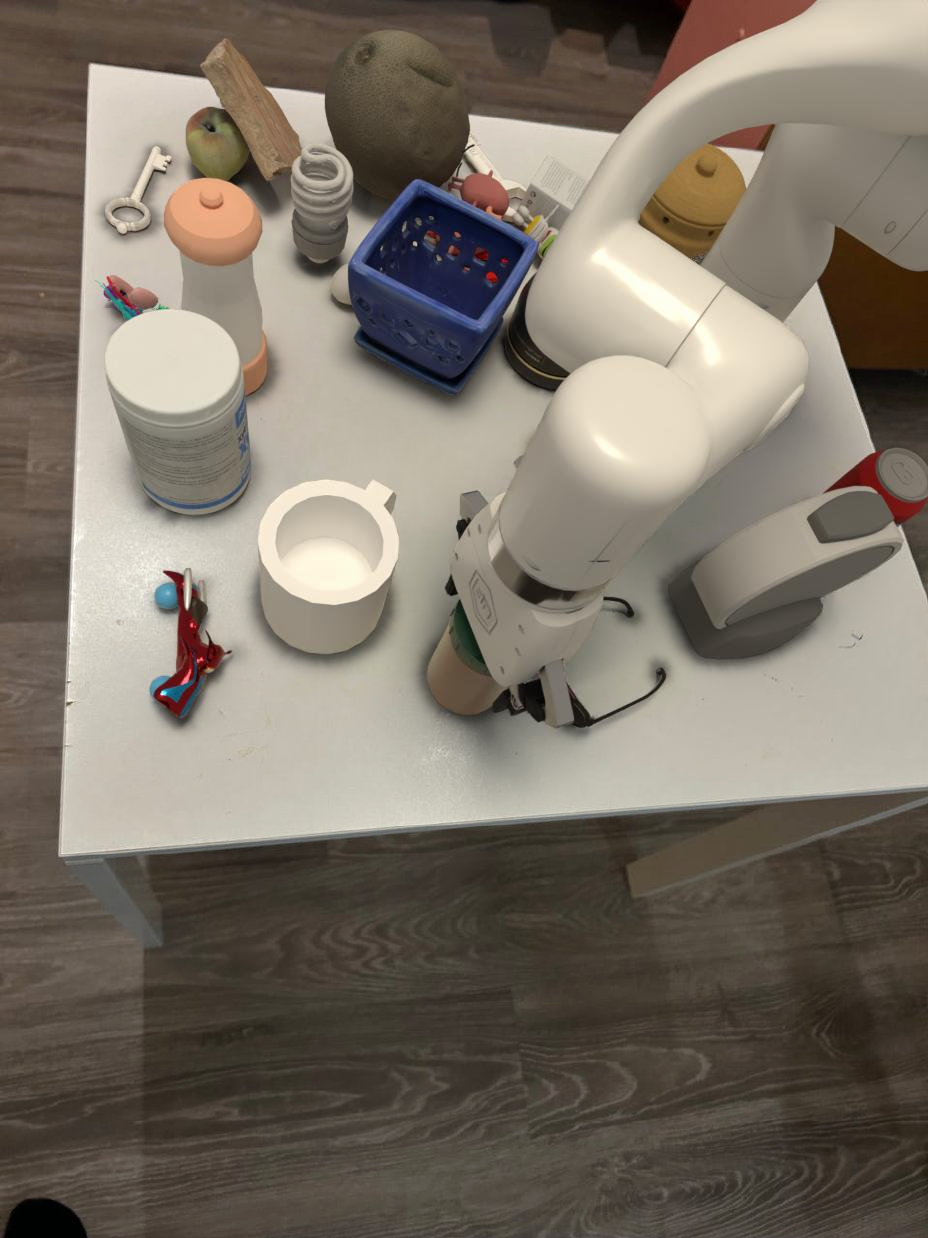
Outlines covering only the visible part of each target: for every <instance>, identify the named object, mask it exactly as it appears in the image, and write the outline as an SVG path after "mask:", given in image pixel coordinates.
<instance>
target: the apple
mask: <svg viewBox="0 0 928 1238" xmlns="http://www.w3.org/2000/svg"><path fill="white" fill-rule="evenodd" d="M185 144H186V150H187V152H188V154H189V156H190V159H191V161H192V163H193V165H194V167H195V168H196V169H197V170H198V171H199V172H201V174H203V175H204V176H205V178H215V179H220V180H224V181H227V182H229V181H230V179H231V178H233V177H234V176H236V174H237V173H239V172H240V171H241V170H242V168H243V167H244V166H245V164H246V162H247V160H248V158H249V155H250V149H249V146H248V144H247V142H246V140H245V139H244V136H243V135H242V133H241V131H240V129H239V127H238V126H237V124H236V123H235V121H234V120H233V118H232V117H231V115H230V114H229V113H228V112H227V111H226V110H225V109H224V108H220V107H219V108H218V107H215V106H205V107H203V108H200V109H199V110H197V111H196V112H195V113H194V114H192V115H191V116H190V117H189V119H188V121H187V122H186V126H185Z"/></svg>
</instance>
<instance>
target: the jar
mask: <svg viewBox="0 0 928 1238" xmlns="http://www.w3.org/2000/svg"><path fill="white" fill-rule="evenodd" d="M536 273H537V271H536V272H535V273H534V274H533V275H532V276H530V278H529V279H528V281H527V282H526V283H525V284H524V286H523V287H522V289H521V291H520V293H519V296H518V299H517V301H516V304H515V307H514V310H513V311H512V313H511V314H510V316H509V319H508V322H507V327H506V331H505V335H504V349H505V353H506V356H507V358H508V360H509V363H510V364H511V365H512V367H513V368H514V370H515V371H516V372H517V373H518V374H519V375H520V376H521V377H522V378H524V379H526V381H529V382H531V383H532V384H534V385H537V386H539V387H542V388H545V389H550V390H557V389H558V387H559V386H560V384H561V383H562V382H563V381H564V380H565V379H566V378H567V377H568V376H569V375H570V374H571V373H569V372H568V371H566V370H565V369H564V368H562V367H561V366H559V365H558V364H557V363H555V362H554V361H553V360H551V359H550V358H549V357H547V356H546V355H545V354H544V353H543V352H542V351H541V350H540V349H539V348H538V347H537V346H536V344H535V343H534V342H533V340H532V339H531V337H530V335H529V333H528V330H527V326H526V320H525V311H526V301H527V297H528V293H529V290H530V287H531V284H532V282H533V279H534V277H535V275H536Z"/></svg>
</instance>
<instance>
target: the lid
mask: <svg viewBox="0 0 928 1238" xmlns="http://www.w3.org/2000/svg"><path fill="white" fill-rule="evenodd" d="M449 617H450V618H449V622H450V624H449V623H448V624H449V634H450V639H451V642H452V645H453V647H454V651H456V653H457V654H458V656H459V657H460V658H461V659H462V661H463V662H464V663H465V664H467V665H466V666H469V667H470V668H472V669H474V670H475V671H477V672H479V673H482V674H483V675H488V676H492V675H491V673H490V671H489V669H488V667H487V665H486V662H485V660H484V658H483V655H482V653H481V650H480V648H479V645H478V643H477V640H476V638H475V636H474V633H473V631H472V628H471V625H470V623H469V620H468V618H467V615H466V613H465V610H464V608H463V605H462V602H461V600H460V597H459V598H458V599H457V602H456V604H455V606H454V608H452V611H451V612H450V614H449Z"/></svg>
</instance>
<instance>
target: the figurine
mask: <svg viewBox="0 0 928 1238" xmlns="http://www.w3.org/2000/svg"><path fill="white" fill-rule="evenodd" d="M492 175H493V171H492V170H491V171H490V172H489V174H488V175H486V174H482V173H478V172H475V173H471V174H469V175H467V176H466V177H465V178H460V177H456V176H451V177H450V179H451V182H448V183H447V191H448V193H450V192H451V191H452V189H453V190H454V189H455V190H458V191H459V195H460V199H461V200H463V201H465V202H467V203H469V204H471V205H473V206H475V207H477V208H479V209H481V210H483V211H485V212H487V213H489V214H491V215H493V216H494V217H496V218H498V219H500V220H502V216H503V215H504V214H505V213H506V211H507V209H508V207H510V199H509V197H508V194H507V192H506V190H505V188H504V187H503V186H502V184H501V183H500V182H499V181H497V180H496V179H494V178H492ZM456 182H457V183H461V184H456ZM502 221H503V220H502ZM428 232H429V233H433V232H432V231H427V233H426V235H425V237H426V236H427V235H428ZM434 234H435V233H434ZM455 235H456V237H461V236H460V234H459V233H457V232H455ZM436 237H437V240H438V241H439V239H440V237H439V236H438V235H436ZM436 237H435V238H436ZM437 240H436V241H437ZM438 241H437V242H438ZM483 251H485V250H483V249H481V248H477V249H476V251H475V254H479V253H481V252H483ZM448 252H449V253H450V254H454V255H459V253H460V250H459V249H457V248H456V247H454V246H450V247H449V249H448Z"/></svg>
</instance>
